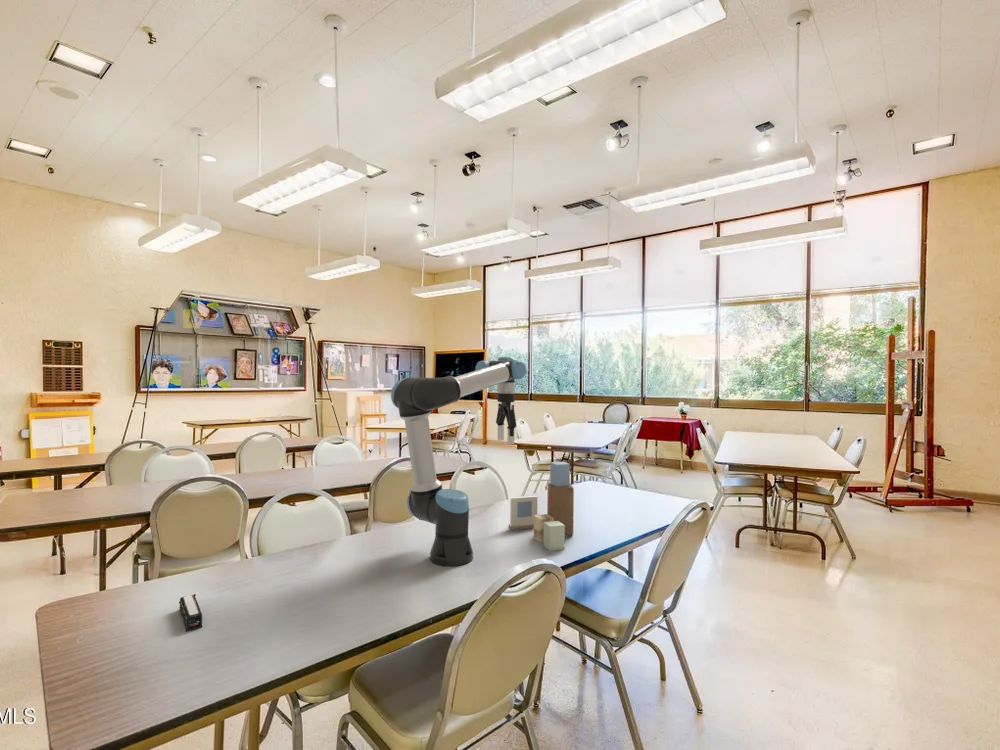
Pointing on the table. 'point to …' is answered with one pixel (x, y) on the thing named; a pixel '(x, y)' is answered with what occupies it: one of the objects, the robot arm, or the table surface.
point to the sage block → (554, 535)
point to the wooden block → (561, 505)
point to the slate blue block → (559, 474)
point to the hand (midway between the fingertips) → (505, 442)
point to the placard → (522, 512)
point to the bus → (190, 613)
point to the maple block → (540, 526)
